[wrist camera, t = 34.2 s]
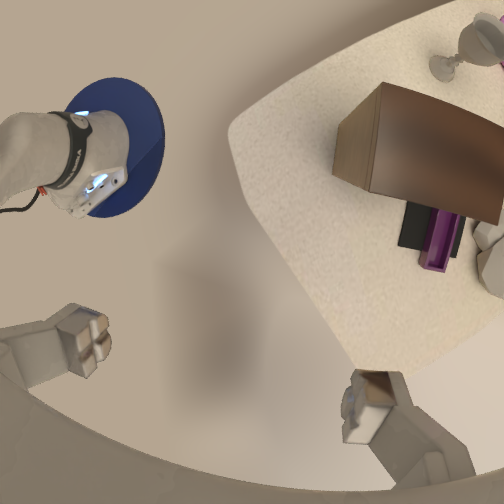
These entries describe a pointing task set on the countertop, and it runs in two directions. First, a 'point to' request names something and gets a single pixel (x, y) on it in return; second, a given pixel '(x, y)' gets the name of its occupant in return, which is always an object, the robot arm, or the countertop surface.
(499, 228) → the rock
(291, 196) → the countertop surface
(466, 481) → the robot arm
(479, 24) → the chalice
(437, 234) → the plum dish
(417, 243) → the charcoal mat
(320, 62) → the countertop surface
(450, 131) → the walnut stand
